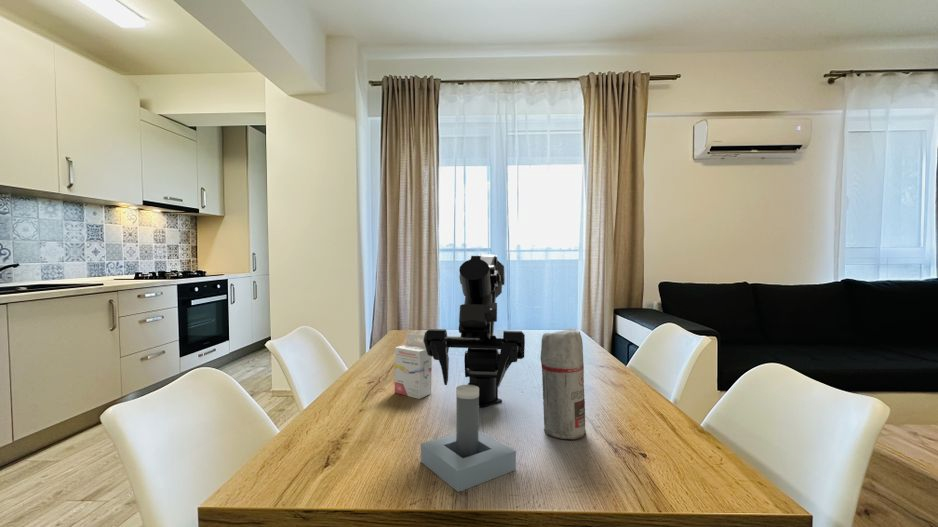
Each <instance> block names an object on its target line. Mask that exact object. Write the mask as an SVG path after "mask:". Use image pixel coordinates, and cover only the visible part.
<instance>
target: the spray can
mask: <svg viewBox="0 0 938 527" xmlns="http://www.w3.org/2000/svg"><path fill="white" fill-rule="evenodd" d="M583 344H584V343H583V337H582V335H581V331H578V330H577V329H575V328H567V329H565V330H560V331H559V330H558V331H554V332H547V333H546V332H545V333H543V334H542V336H541V350H540V363H541V376H542V377H541V379H542V381H541V383H542V399H543V400H542V402H543V403H542V404H543V425H544V427H543V428H544V429H543V430H544V433H545V434H547V435H548V436H551V437H553V438H557V439H563V440H577V439H580V438H582V437H584V435H585V434H586V433H587V431H586V404H585V403H586V401H585V400H586V399H585V395H586V394H585V378H584V377H585V370H584V369H585V368H584V367H585V366H584V365H585V363H584V351H583V349H584V345H583Z"/></svg>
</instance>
